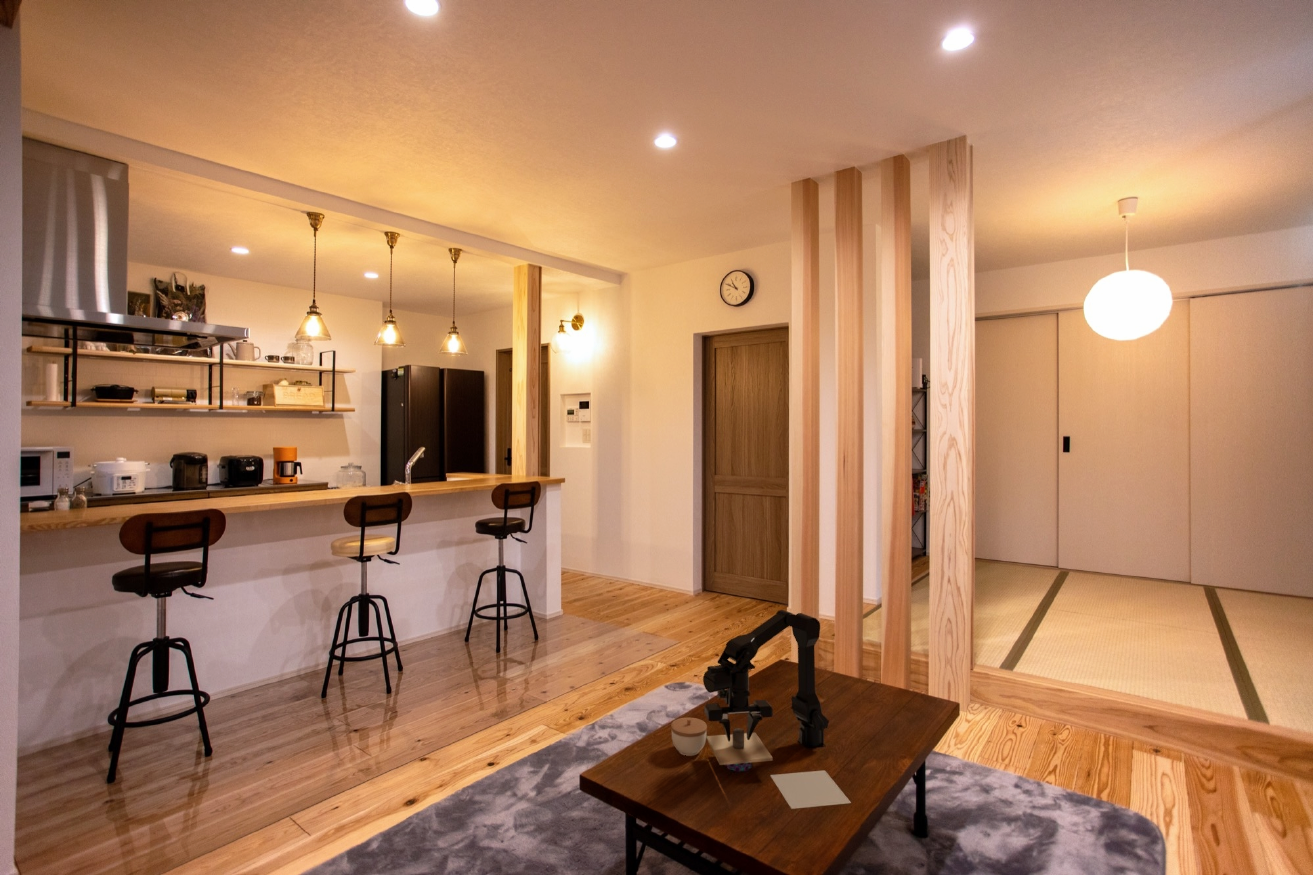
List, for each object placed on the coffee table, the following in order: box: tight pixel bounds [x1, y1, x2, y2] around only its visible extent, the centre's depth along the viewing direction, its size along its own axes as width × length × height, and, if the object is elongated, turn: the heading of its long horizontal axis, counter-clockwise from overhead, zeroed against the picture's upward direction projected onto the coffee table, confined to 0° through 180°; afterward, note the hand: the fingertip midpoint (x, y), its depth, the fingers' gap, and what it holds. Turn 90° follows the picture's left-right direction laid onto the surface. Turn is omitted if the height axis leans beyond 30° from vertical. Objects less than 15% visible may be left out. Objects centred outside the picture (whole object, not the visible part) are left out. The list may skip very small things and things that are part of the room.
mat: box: [770, 770, 852, 810], centre depth 169 cm, size 16×16×1 cm
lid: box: [706, 727, 774, 766], centre depth 182 cm, size 15×15×5 cm
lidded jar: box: [670, 717, 708, 757], centre depth 191 cm, size 11×11×9 cm
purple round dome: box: [724, 762, 753, 773], centre depth 182 cm, size 12×12×5 cm
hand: (738, 740), depth 182 cm, fingers open, 5 cm apart
